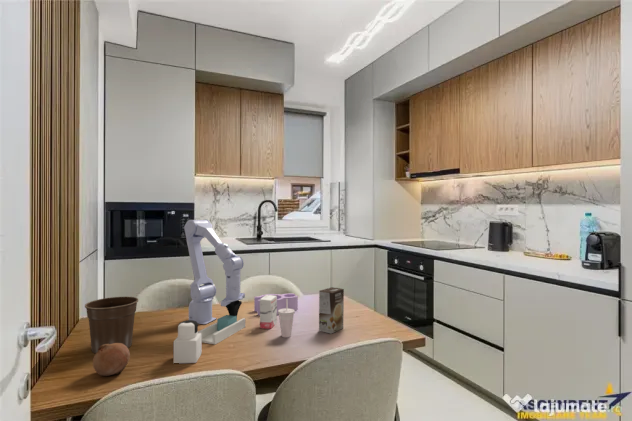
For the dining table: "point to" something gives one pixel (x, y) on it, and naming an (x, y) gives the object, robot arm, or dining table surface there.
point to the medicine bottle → (187, 343)
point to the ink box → (268, 311)
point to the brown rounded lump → (111, 359)
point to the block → (225, 321)
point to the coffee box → (331, 309)
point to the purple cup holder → (279, 302)
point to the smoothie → (286, 320)
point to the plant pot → (111, 321)
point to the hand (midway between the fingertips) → (233, 319)
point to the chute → (220, 332)
